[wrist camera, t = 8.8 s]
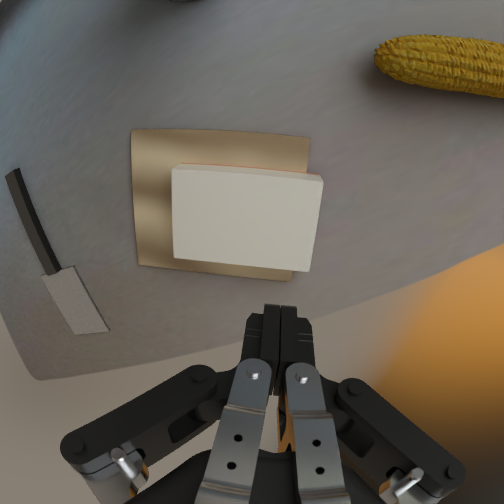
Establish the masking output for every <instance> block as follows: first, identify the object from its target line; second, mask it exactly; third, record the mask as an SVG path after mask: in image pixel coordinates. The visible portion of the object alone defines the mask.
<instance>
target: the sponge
mask: <svg viewBox="0 0 504 504" xmlns="http://www.w3.org/2000/svg"><path fill="white" fill-rule="evenodd" d="M322 189H323V180H322V178H321V177H320V175H319V174H316V173H308V172H299V171H290V170H281V169H271V168H260V167H248V166H236V165H221V164H204V163H183V162H182V163H181V164H179V165H178V166H176V167H174V168H173V169H172V226H173V251H174V258H180V259H189V260H198V261H207V262H217V263H226V264H235V265H245V266H254V267H264V268H274V269H284V270H294V271H304V272H309V269H310V264H311V258H312V252H313V246H314V241H315V235H316V228H317V222H318V216H319V209H320V203H321V196H322Z"/></svg>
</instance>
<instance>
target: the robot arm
mask: <svg viewBox="0 0 504 504" xmlns="http://www.w3.org/2000/svg"><path fill="white" fill-rule="evenodd" d="M172 1H192V0H172ZM273 387H274V391H273ZM272 391H273V395H276V396H279V401H278V402H279V403H278V407H277V428H278V453H271V452H268V451H264V450H261V449H259V446H260V441H261V435H262V430H263V424H264V418H265V410H266V406H267V403H268V398H269V395H272ZM216 420H220V422H219V426H218V430H217V433H216V436H215V440H214V443H213V447H212V449H210V450H206V451H203V452H200V453H198V454H196V455H194V456H192V457H191V458H189V459H188V460H187V461H185V462H184V463H182V464H181V465H180V466H178V467H177V468H176V469H174V470H173V471H171V472H170V473H169V474H167V475H166V476H164V477H163V478H161V479H160V480H158V481H157V482H155V483H154V484H153V485H151V486H150V487H148V488H147V489H145V490H143V491H142V492H140V493H139V494H137V492H138V490H139V489H140V488H141V487H142V486H143V485H144V484H145V483H146V482H147V480H148V478H149V471H148V468H147V467H149V466H151V465H153V464H154V463H156V462H157V461H159V460H160V459H162V458H163V457H165V456H167V455H168V454H170V453H171V452H173V451H174V450H176V449H178V448H179V447H180V446H182V445H183V444H185V443H187V442H188V441H189V440H191V439H192V438H194V437H195V436H197V435H198V434H200V433H201V432H202V431H204V430H205V429H207V428H208V427H209V426H211V425H212V424H213V423H215V421H216ZM338 447H339V448H340V449H341V450H342V451H344V453H346V454H347V455H348V456H349V457H350V458H351V459H352V460H353V461H354V462H355V463H356V464H357V465H358V466H359V467H360V468H361V469H362V470H363V471H364V472H365V473H367V474H368V475H369V476H370V477H371V478H372V479H373V480H374V481H375V482H376V483H378V484H379V485H380V489H379V495H380V496H379V495H378V494H377V493H376V492H375V491H374V490H372V488H371V487H370V486H369V485H367V483H366V482H365V481H364V480H363V479H362V478H361V477H360V476H359V475H358V474H357V473H356V472H355V471H354V470H353V469H352V468H350V466H348V465H347V464H345V463H344V462H342V461H341V460H340V454H339V448H338ZM60 451H61V454H62V456H63V457H64V459H65V460H66V461H67V462H68V463H69V464H70V465H71V467H72V468H73V469H74V470H75V471H76V472H77V473H78V474H79V475H80V476H81V477H82V478H83V479H84V480H85V481H86V483H87V485H88V486H89V487H90V489H91V490H92V492H93V493H94V495H95V496H96V498H97V499H98V501H99V502H100V503H101V504H437V503H438V502H439V500H440V499H442V498H443V497H445V496H447V495H448V494H450V493H451V492H453V491H454V490H456V489H457V488H458V487H460V486H461V485H462V484H463V483H464V481H465V478H466V470H465V467H464V465H463V464H462V463H461V462H460V461H459V460H458V459H457V458H455V457H454V456H453V455H451V454H450V453H449V452H448V451H447V450H445V449H444V448H443V447H442V446H440V445H439V444H438V443H437V442H435V441H434V440H433V439H432V438H431V437H429V436H428V435H427V434H425V432H423V431H422V430H421V429H420V428H418V427H417V426H416V425H415V424H414V423H412V422H411V421H410V420H409V419H408V418H406V417H405V416H404V415H403V414H402V413H400V412H399V411H398V410H397V409H396V408H395V407H393V406H392V405H391V404H390V403H389V402H387V401H386V400H385V399H384V398H383V397H381V396H380V395H379V394H378V393H377V392H376V391H374V390H373V389H372V388H371V387H370V386H369V385H367V384H366V383H365V382H364V381H362V380H360V379H356V378H348V379H345V380H343V381H342V382H341V383H337V382H334V381H331V380H328V379H326V378H324V377H323V376H321V375H320V374H319V372H318V370H317V369H316V367H315V357H314V346H313V336H312V326H311V324H310V323H309V321H308V320H307V318H299V317H297V307H296V306H286V305H281V308H280V305H275V304H265V305H264V313H263V314H257V313H252V314H251V315H250V316H249V318H248V319H247V322H246V328H245V335H244V341H243V348H242V355H241V360H240V362H239V364H238V365H237V366H236V367H235V368H233V369H231V370H229V371H224V372H215V371H214V370H213V369H212V368H210V367H208V366H205V365H193V366H190V367H188V368H187V369H185V370H183V371H182V372H180V373H178V374H176V375H175V376H173V377H171V378H170V379H168V380H166V381H164V382H163V383H161V384H159V385H158V386H156V387H154V388H152V389H151V390H149V391H147V392H145V393H144V394H142V395H140V396H138V397H136V398H135V399H133V400H131V401H129V402H127V403H126V404H124V405H122V406H120V407H118V408H117V409H115V410H113V411H111V412H109V413H107V414H105V415H103V416H101V417H100V418H98V419H96V420H94V421H92V422H90V423H88V424H86V425H84V426H83V427H80V428H78V429H76V430H74V431H72V432H70V433H68V434H67V435H66V436H65V437H64V438H63V439H62V441H61V444H60Z"/></svg>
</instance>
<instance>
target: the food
mask: <svg viewBox="0 0 504 504" xmlns="http://www.w3.org/2000/svg"><path fill="white" fill-rule="evenodd" d="M379 45H380V48H377V49H375V52H376V54H375V55H373V56H374V57H375V59H374V62H375V63H374V64H375V65H376V66H377V67H379V68H380V70H381V71H382V72H383V73H384V74H388V75H389V76H391V77H392V78H394V79H395V80H401V81H402V82H405V83H409V84H412V85H413V84H415V83H416V84H417V85H420V86H423V87H429V88H435V89H440V90H442V89H443V90H448V91H460V92H465V93H466V92H468V93H474V94H477V95H487V96H491V97H498V98H501V97H502V98H504V44H502V43H497V42H492V41H487V40H482V39H481V40H479V39H474V38H460V37H451V36H442V35H415V36H413V35H408V36H403V37H402V36H400V37H398V38H396V37H395V38H393V39H392V40H386V41H385V44H379Z"/></svg>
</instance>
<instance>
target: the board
mask: <svg viewBox="0 0 504 504" xmlns="http://www.w3.org/2000/svg"><path fill="white" fill-rule="evenodd" d="M309 147H310V138H307V137H298V136H289V135H280V134H269V133H258V132H244V131H227V130H204V129H135V130H131V158H132V186H133V204H134V219H135V231H136V242H137V252H138V261H139V265H146V266H154V267H162V268H171V269H179V270H187V271H196V272H205V273H213V274H222V275H231V276H241V277H250V278H260V279H269V280H279V281H289V282H291V280H292V273H293V270H284V269H274V268H264V267H254V266H245V265H235V264H226V263H217V262H207V261H198V260H189V259H180V258H174V251H173V226H172V169H173V168H174V167H176V166H178V165H179V164H181V163H182V162H183V163H204V164H221V165H236V166H248V167H260V168H271V169H281V170H290V171H299V172H307V164H308V156H309Z"/></svg>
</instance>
